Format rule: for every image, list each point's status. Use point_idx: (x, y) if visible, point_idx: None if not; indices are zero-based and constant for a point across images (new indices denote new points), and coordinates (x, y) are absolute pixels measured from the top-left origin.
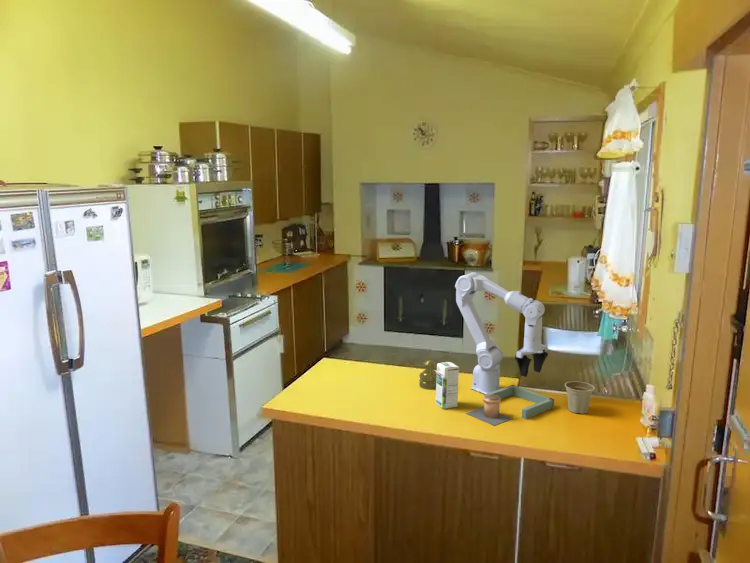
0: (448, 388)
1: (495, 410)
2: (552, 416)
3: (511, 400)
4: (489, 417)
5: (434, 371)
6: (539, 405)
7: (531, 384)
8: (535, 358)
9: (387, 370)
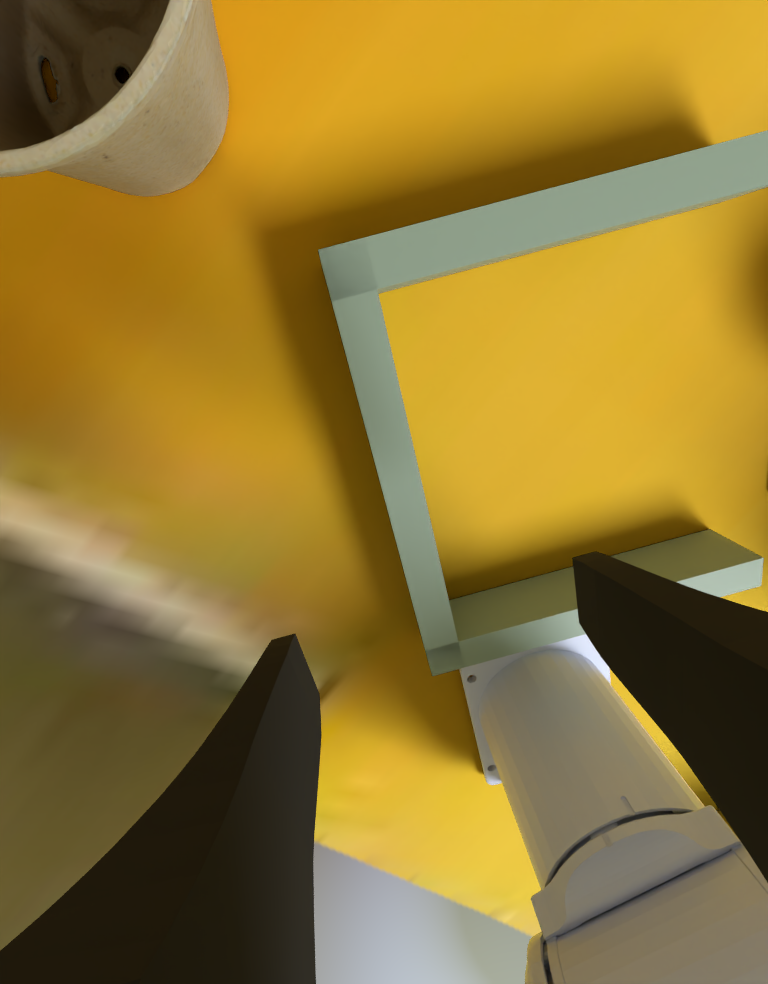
0: None
1: None
2: (473, 85)
3: (525, 523)
4: None
5: None
6: (573, 183)
7: (189, 712)
8: (297, 917)
9: None
